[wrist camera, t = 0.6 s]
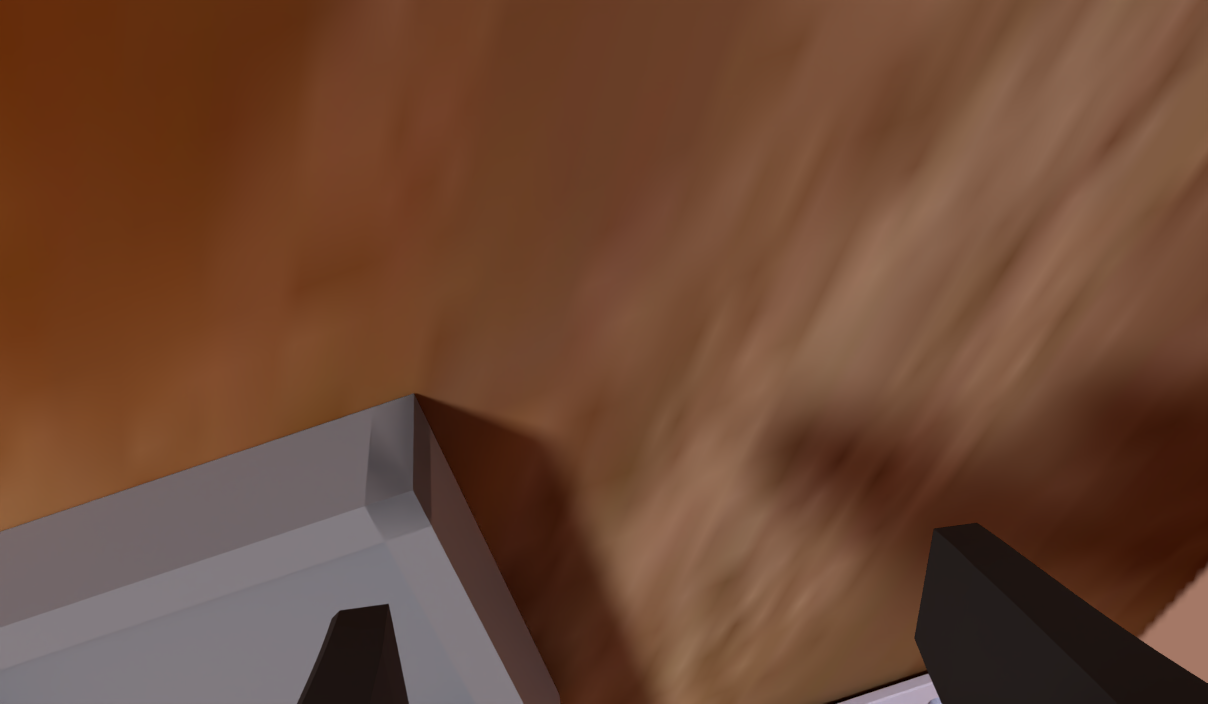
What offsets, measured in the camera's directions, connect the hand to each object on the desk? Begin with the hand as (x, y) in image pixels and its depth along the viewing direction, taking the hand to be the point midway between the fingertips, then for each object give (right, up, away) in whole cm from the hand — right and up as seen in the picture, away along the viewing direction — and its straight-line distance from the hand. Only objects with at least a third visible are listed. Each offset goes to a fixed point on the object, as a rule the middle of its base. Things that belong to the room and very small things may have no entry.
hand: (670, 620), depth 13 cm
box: (-11, -5, +13) cm, 17 cm away
